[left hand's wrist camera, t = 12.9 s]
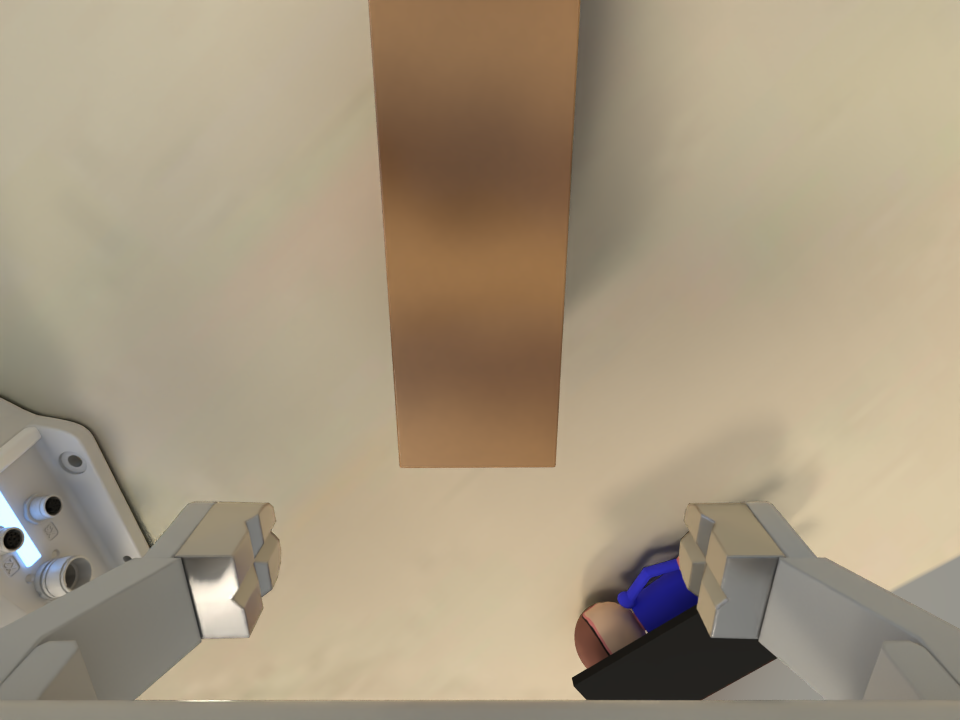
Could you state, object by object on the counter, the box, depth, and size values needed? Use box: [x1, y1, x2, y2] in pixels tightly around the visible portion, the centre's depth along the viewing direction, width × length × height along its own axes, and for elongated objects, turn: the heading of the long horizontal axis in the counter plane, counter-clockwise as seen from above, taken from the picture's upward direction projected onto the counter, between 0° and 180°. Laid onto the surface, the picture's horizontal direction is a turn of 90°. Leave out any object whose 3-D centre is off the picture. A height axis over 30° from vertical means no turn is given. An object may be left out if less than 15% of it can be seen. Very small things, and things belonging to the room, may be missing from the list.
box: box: [368, 0, 581, 468], centre depth 23 cm, size 21×6×13 cm, turn 0°
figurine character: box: [572, 556, 777, 700], centre depth 36 cm, size 7×8×15 cm
